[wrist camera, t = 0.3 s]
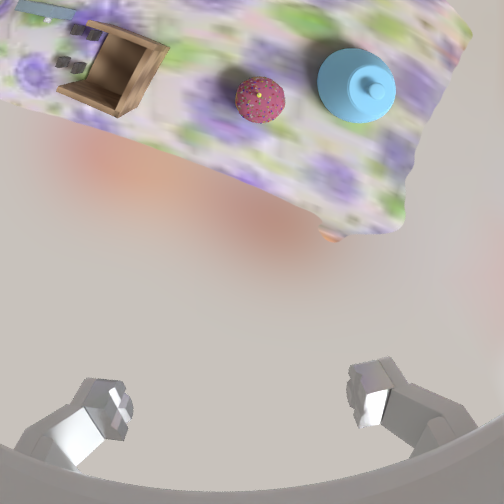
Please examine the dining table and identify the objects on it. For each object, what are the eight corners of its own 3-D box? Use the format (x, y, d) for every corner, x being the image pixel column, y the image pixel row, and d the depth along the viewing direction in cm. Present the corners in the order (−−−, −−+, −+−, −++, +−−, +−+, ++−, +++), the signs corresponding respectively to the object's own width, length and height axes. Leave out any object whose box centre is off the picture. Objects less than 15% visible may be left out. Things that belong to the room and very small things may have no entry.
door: (36, 16, 31) (11, 15, 24) (43, 2, 29) (19, -1, 22) (68, 25, 35) (45, 23, 27) (76, 10, 33) (53, 6, 26)
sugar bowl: (307, 52, 44) (325, 50, 35) (378, 46, 43) (409, 47, 33) (321, 124, 53) (341, 140, 44) (388, 115, 52) (417, 129, 42)
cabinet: (87, 16, 34) (59, 11, 26) (170, 47, 42) (156, 44, 33) (60, 74, 41) (29, 81, 32) (137, 107, 48) (117, 118, 39)
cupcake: (226, 88, 48) (225, 94, 38) (268, 67, 46) (278, 69, 36) (248, 126, 52) (253, 142, 43) (288, 106, 50) (303, 118, 41)
